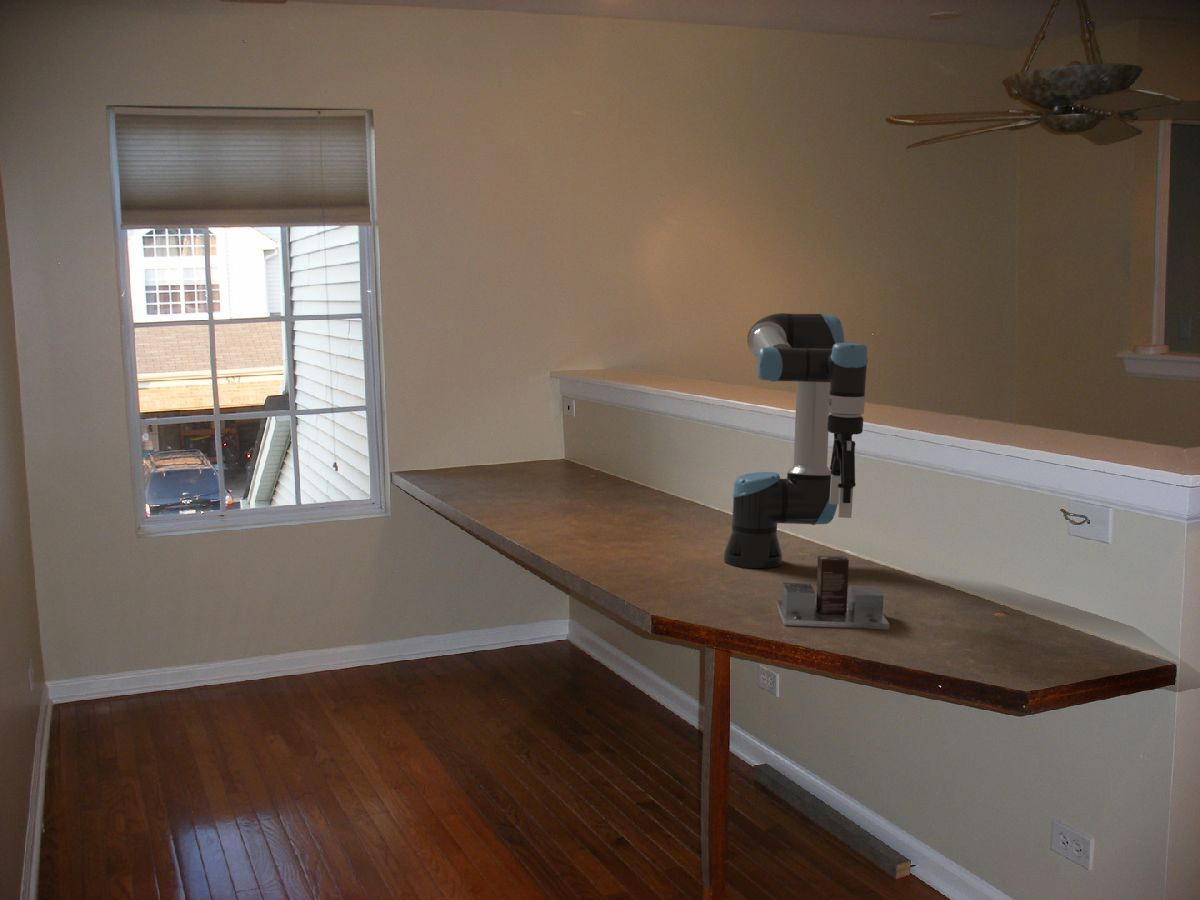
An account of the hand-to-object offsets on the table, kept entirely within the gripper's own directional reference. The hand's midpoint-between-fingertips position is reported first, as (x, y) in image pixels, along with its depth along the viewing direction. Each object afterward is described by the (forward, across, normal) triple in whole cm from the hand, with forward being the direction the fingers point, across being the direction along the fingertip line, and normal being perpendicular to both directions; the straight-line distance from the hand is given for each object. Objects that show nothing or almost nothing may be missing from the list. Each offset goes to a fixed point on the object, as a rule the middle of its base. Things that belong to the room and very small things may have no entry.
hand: (840, 510), depth 252 cm
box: (+22, +5, -2) cm, 22 cm away
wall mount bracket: (+23, +5, -1) cm, 23 cm away
